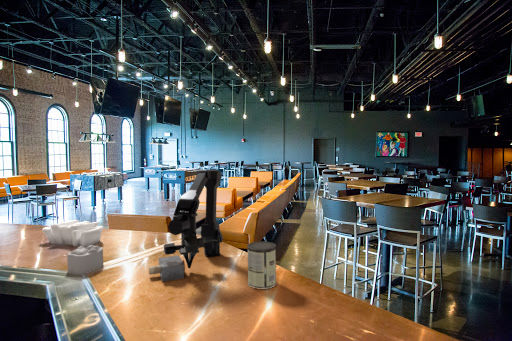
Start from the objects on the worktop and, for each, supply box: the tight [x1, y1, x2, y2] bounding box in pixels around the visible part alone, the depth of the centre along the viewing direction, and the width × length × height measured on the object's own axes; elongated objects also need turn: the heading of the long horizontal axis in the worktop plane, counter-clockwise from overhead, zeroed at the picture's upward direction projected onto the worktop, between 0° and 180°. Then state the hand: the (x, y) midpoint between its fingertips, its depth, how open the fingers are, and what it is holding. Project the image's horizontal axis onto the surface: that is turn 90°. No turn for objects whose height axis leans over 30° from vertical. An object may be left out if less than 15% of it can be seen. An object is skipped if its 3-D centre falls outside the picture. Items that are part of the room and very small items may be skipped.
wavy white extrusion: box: [41, 219, 104, 248], centre depth 169 cm, size 35×16×11 cm, turn 66°
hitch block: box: [158, 255, 185, 282], centre depth 122 cm, size 8×12×5 cm, turn 22°
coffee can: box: [246, 240, 277, 290], centre depth 113 cm, size 10×10×14 cm
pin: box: [148, 259, 186, 276], centre depth 122 cm, size 13×5×5 cm, turn 112°
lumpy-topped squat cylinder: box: [67, 244, 104, 275], centre depth 130 cm, size 10×13×9 cm
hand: (189, 268), depth 125 cm, fingers closed
